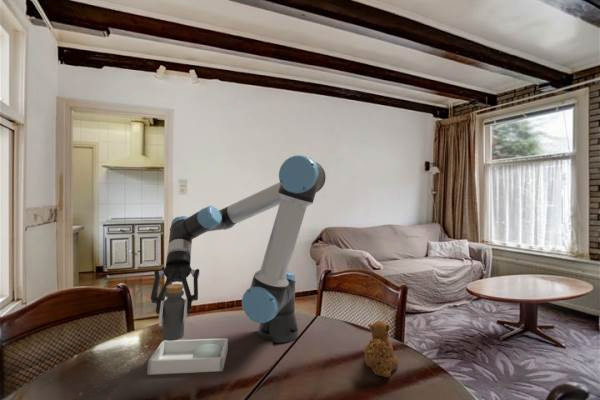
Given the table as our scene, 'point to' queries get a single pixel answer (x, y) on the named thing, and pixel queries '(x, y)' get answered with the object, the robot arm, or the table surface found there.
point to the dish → (207, 351)
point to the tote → (185, 357)
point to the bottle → (173, 313)
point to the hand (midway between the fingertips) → (172, 323)
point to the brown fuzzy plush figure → (380, 350)
